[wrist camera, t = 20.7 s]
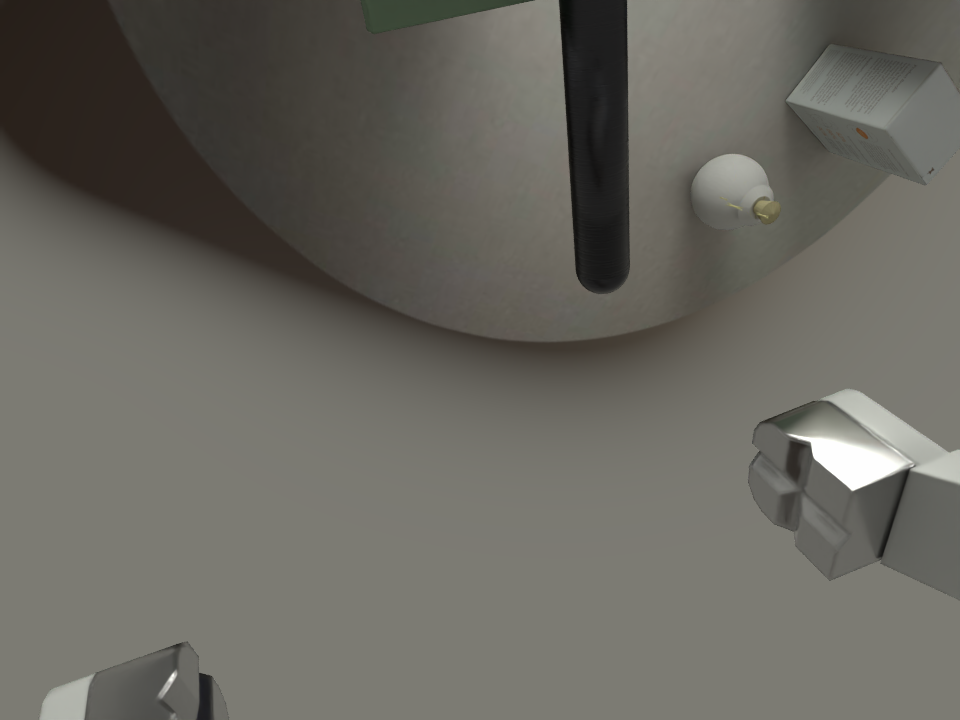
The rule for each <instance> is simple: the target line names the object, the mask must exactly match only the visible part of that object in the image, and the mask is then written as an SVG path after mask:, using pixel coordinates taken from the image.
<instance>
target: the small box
mask: <svg viewBox="0 0 960 720" xmlns="http://www.w3.org/2000/svg"><path fill="white" fill-rule="evenodd" d="M786 103H787V104H788V105H789V106H790V107H791V108H792V109H793V110H794V112H795V113H796V114H797V115H798V116H799V117H800V119H801V120H802V121H803V122H804V123H805V124H806V126H807V127H808V128H809V129H810V130H811V131H812V132H813V134H814V135H815V136H816V137H817V138H818V139H819V140H820V142H821V143H822V144H823V145H824V146H825V147H826V149H827V150H828V151H829V152H832V153H834V154H837V155H840V156H843V157H845V158H848V159H851V160H854V161H857V162H859V163H862V164H865V165H868V166H871V167H873V168H876V169H879V170H882V171H885V172H888V173H891V174H894V175H897V176H900V177H903V178H906V179H908V180H911V181H914V182H917V183H920V184H922V185H927V184H928V183H929V182H930V181H931V180H932V178H934V176H935V175H936V174H937V173H938V172H939V171H940V170H941V169H942V167H943V166H944V165H945V164H946V163H947V162H948V161H949V159H950V158H951V157H952V156H953V155H954V154H955V153H956V151H957V150H958V149H959V148H960V92H959V91H958V89H957V88H956V86H955V84H954V83H953V81H952V80H951V78H950V76H949V75H948V73H947V71H946V70H945V68H944V67H943V65H942V63H940V62H935V61H929V60H924V59H917V58H912V57H906V56H900V55H894V54H887V53H882V52H876V51H871V50H865V49H859V48H853V47H847V46H841V45H836V44H830V45H829V46H828V47H827V48H826V50H825V51H824V52H823V54H822V55H821V56H820V58H819V59H818V60H817V61H816V63H815V64H814V65H813V67H812V68H811V69H810V70H809V72H808V73H807V74H806V75H805V77H804V78H803V79H802V80H801V82H800V83H799V84H798V85H797V87H796V88H795V89H794V90H793V92H792V93H791V94H790V96H789V97H788V98H787V99H786Z"/></svg>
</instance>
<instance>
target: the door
mask: <svg viewBox="0 0 960 720" xmlns="http://www.w3.org/2000/svg"><path fill="white" fill-rule="evenodd" d="M529 1H533V0H361V4H362V9H363V14H364V19H365V23H366V28H367V30H368V31H369V32H371V33H372V34H377V33H382V32H386V31H391V30H396V29H401V28H405V27H410V26H415V25H420V24H424V23H429V22H434V21H439V20H443V19H448V18H453V17H457V16H462V15H467V14H472V13H476V12H481V11H486V10H491V9H495V8H500V7H505V6H510V5H514V4H519V3H524V2H529ZM559 7H560V23H561V39H562V55H563V71H564V87H565V104H566V120H567V136H568V152H569V168H570V184H571V201H572V217H573V233H574V249H575V265H576V274H577V277H578V279H579V281H580V283H581V284H582V285H583V286H584V287H585V288H586V289H587V290H589V291H591V292H594V293H598V294H606V293H611V292H613V291H615V290H617V289H618V288H620V287H621V286H622V285H623V284H624V282H625V281H626V279H627V277H628V274H629V268H630V248H629V149H628V51H627V0H559Z"/></svg>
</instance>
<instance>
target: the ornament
mask: <svg viewBox="0 0 960 720" xmlns="http://www.w3.org/2000/svg"><path fill="white" fill-rule="evenodd" d="M690 198H691V204H692V207H693V210H694V212H695V213H696V215H697V216H698V218H699V219H700V220H701V221H702V222H704V223H705V224H706V225H708V226H710V227H713V228H715V229H720V230H733V229H738V228H741V227H743V226H745V225H746V226H753V225H756V224H758V223H760V222H762V223H763V224H771V223H772V222H774V221H775V220H776V219H777V218H778V216H779V214H780V211H781V206H780V204H779V203H778V202H776V201H774V194H773V191H772V189H771V188H770V187H769V182H768V179H767V176H766V174H765V172H764V170H763V168H762V167H761V166H760V165H759V164H758V163H757V162H756V161H754V160H753V159H751V158H749V157H747V156H744V155H739V154H727V155H722V156H719V157H716V158H714V159H712V160H711V161H709V162H708V163H706V164H705V165H704V166H703V167H702V168H701V169H700V170H699V172H698V173H697V174H696V176H695V178H694V180H693V183H692V186H691V193H690Z"/></svg>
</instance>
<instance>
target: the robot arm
mask: <svg viewBox="0 0 960 720" xmlns="http://www.w3.org/2000/svg"><path fill="white" fill-rule="evenodd" d="M752 444H753V445H755V447H756V448H757V449H758V450H759V452H758V454H757V455H756V456H755V458H754V459H753V461H752V462H751V464H750V466H749V477H748V483H749V486H750V489H751V492H752V495H753V498H754V500H755V501H756V503H757V505H758V506H759V508H760V509H761V511H762V512H763V513H764V514H765V515H766V516H767V517H768V519H769V520H770V521H771V522H772V523H773V524H775V525H777V526H780V527H783V528H786V529H788V530H791V531H794V538H795V546H796V547H797V548H798V549H799V550H800V551H801V552H802V553H803V554H804V555H805V556H806V557H807V559H809V561H810V562H811V563H813V565H814V566H815V567H817V568H818V570H819V571H820V572H821V573H822V574H823V575H824V576H825V577H826V578H827V579H828V580H829V581H831V580H833V579H835V578H838V577H840V576H843V575H845V574H847V573H850V572H852V571H855V570H857V569H860V568H862V567H865V566H867V565H869V564H872V563H874V562H877V561H879V560H881V564H883V565H885V566H887V567H889V568H891V569H893V570H896V571H898V572H900V573H902V574H904V575H906V576H908V577H911V578H913V579H915V580H917V581H919V582H921V583H924V584H926V585H928V586H930V587H932V588H934V589H936V590H939V591H941V592H943V593H945V594H947V595H949V596H951V597H954V598H956V599H958V600H960V450H955V451H953V452H950V453H949V452H947V451H946V450H944V449H943V448H941V447H940V446H939V445H937V444H935V443H934V442H933V441H931V440H930V439H928V438H927V437H925V436H924V435H922V434H921V433H919V432H918V431H917V430H915V429H914V428H912V427H911V426H909V425H908V424H906V423H905V422H904V421H902V420H901V419H899V418H898V417H896V416H895V415H893V414H892V413H890V412H889V411H887V410H886V409H885V408H883V407H882V406H880V405H878V404H877V403H876V402H874V401H873V400H871V399H870V398H869V397H867V396H866V395H864V394H862V393H861V392H859V391H856V390H852V389H846V390H843V391H840V392H838V393H835V394H832V395H830V396H827V397H825V398H822V399H819V400H817V401H812V402H810V403H807V404H805V405H802V406H800V407H797V408H795V409H792V410H789V411H787V412H784V413H782V414H779V415H777V416H774V417H772V418H769V419H767V420H765V421H762V422H760V423H759V424H758V425H757V427H756V428H755V429H754V434H753V441H752ZM38 720H229V716H228V712H227V707H226V703H225V700H224V698H223V695H222V693H221V690H220V688H219V686H218V685H217V683H216V681H215V680H214V678H213V677H212V676H210V675H206V674H202V673H199V656H198V655H197V654H196V652H195V651H194V649H193V648H192V647H191V646H190V644H189V643H188V642H183V643H179V644H176V645H173V646H171V647H168V648H165V649H162V650H159V651H157V652H154V653H151V654H148V655H145V656H143V657H139V658H136V659H134V660H131V661H128V662H126V663H122V664H120V665H117V666H114V667H111V668H108V669H105V670H103V671H100V672H97V673H95V674H92V675H89V676H86V677H84V678H81V679H78V680H76V681H73V682H70V683H67V684H65V685H62V686H59V687H56V688H54V689H51V690H50V691H49V693H48V695H47V697H46V698H45V700H44V702H43V704H42V706H41V709H40V715H39V719H38Z"/></svg>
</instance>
